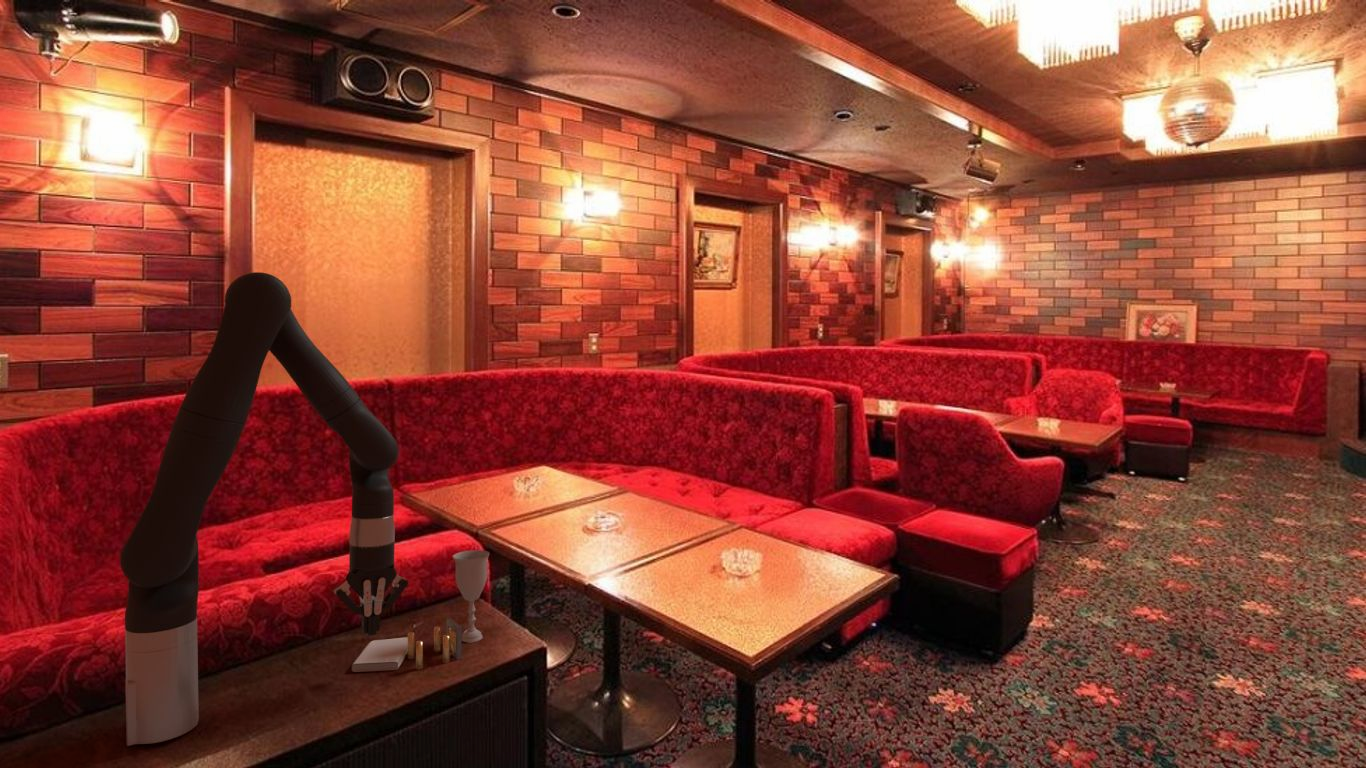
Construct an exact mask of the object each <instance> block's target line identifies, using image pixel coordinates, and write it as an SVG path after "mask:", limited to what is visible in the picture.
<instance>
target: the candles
mask: <svg viewBox="0 0 1366 768" xmlns="http://www.w3.org/2000/svg"><path fill="white" fill-rule="evenodd" d="M445 620H446V622H445V623H446V624H445V625H446V634H444V635H442V663H443V664H448V663H450V659H451V658H450V652H451V653H452V657H453V658H455V659H456V660H457V661H459V660H462V640H461V637H462V634H463V631H462V629H463V628H462V626H461V625H460V624H458V622H456V621H455V620H454V619H453V618H452V617H446V619H445ZM407 637H408V651H407V659H408V660H413V659H415V670H418V671H420V670H423V668H424V646H423V645H424V644H423V643H424V642H423V640H417V641H416V642H415V632H413V631H410V632H408V633H407ZM433 650H434V652H435V653H436V652H437V653H438V652H440V651H441V626H434V627H433Z"/></svg>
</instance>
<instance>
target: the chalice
mask: <svg viewBox="0 0 1366 768" xmlns="http://www.w3.org/2000/svg"><path fill="white" fill-rule="evenodd" d="M489 556H490V551H487V550H481V549H480V550H477V549H475V550H474V549H473V550H465V551H460V552H457V553H455V554H453V555H452V558H453V560H454V562H455V582H456V585H457V587H458V590H459V592H460V594H461V596H462V598H463V599H464V600H465V601H468V604H469V605H468V609H467V612H468V617H467V619H466V620H467V621H468V624H469V625H468V628H467V629H465V630H464V631H463V632H462V634H461V642H464V643H465V644H466V643H467V644H475V643H476V642H479V641H480V640H482V639H483V635H482V632H481V631H480V630H479V629H478V628H476V627H475V622H476V620H477V618H476V617H475V612H476V607H475V601H476V600H478V599H479V598H480V596H481V594H482V592H483V590H484V588H485V585H486V582H487V580H488V559H489Z"/></svg>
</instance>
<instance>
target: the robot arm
mask: <svg viewBox="0 0 1366 768" xmlns="http://www.w3.org/2000/svg"><path fill="white" fill-rule="evenodd" d="M269 352H270V353H271V354H272V355H273V357H274V358H275V359H276V360H277V361H278V362H279V363H280V365H281V366H282V367H283V369H284V370H285V371H286V373H288V375H289V376H290V378H291V379H292V381H293V382H294V383H295V385H296V387H297V388H298V389H299V391H300V392H301V393H302V394H303V396H304V398H305V399H306V400H307V401H308V403H309V404H310V405H311V407H312V408H313V409H314V410H315V412H316V413H317V414H318V415H319V417H320V418H321V419H322V420H323V422H324V423H325V424H326V425H327V426H328V427H329V428H330V429H331V430H332V431H333V432H334V433H337V435H338V436H339V437H340V438H341V439H342V440H343V442H344V443H345V445H346V446H347V447H348V448H349V451H348V462H349V471H350V478H351V479H350V480H351V485H352V495H351V496H352V497H351V521H350V526H349V534H348V535H349V536H348V540H349V541H348V542H349V560H348V562H349V563H348V564H349V566H348V567H349V569H348V573H347V575H346V577H345V582H343V583H342V584H341V585H340V586H335V587H334V588H333V593H334V594H335V595H336V597H338V599H339V600H340V601H341V602H342V603H343V604H344V605H345V606H346V607H347V608H348V609H349V610H350V611H351V612H352V613H353V614H354V615H356V616H361V631H362V632H363V634H365V635H366V636H367V637H372V636H377V632H379V631H380V630H381V614H382V612H384V611H386V610H387V611H388V610H390V609H391V608H392V607H393V605H394V604H395V603H396V602H397V600H398V599H399V597H400V596H401V595H402V593H403V592H404V591H405V589H406V588H407V587H408V585H409V581H408V580H407V579H406V578H405V577H403V576H400V575H398V572H397V570H396V568H395V546H396V545H395V544H396V542H395V540H396V539H395V535H396V525H395V519H394V518H395V517H394V513H395V503H394V501H395V500H394V499H395V494H394V492H395V491H394V487H393V485H392V484H391V481H390V470H389V469H390V468H391V467H393V466H394V464H395V463H396V462H397V460H398V457H399V445H398V443H397V441H396V439H395V437H394V436H393V435H392V433H390V430H388V429H387V428H386V427H385V426H384V424H383V423H382V422H381V421H380V420H379V419H378V418H377V417H376V416H375V415H374V414H373V413H372V412H371V411H370V410H369V409H368V408H367V406H366V404H365V403H364V402H363V400H362V398H361V397H360V396H359V394H358V393H357V392H356V390H355V389H354V388H353V386H352V385H351V384H350V383H349V382H348V380H347V379H346V378H345V377H344V375H343V374H342V373H341V372H340V370H338V368H337V367H335V365H334V364H333V363H332V362H331V361H330V360H329V359H328V357H326V356H325V354H324V353H323V352H322V351H321V350H320V348H318V347H317V346H316V345H315V343H314V342H313V341H312V340H311V339H310V337H309V336H308V335H307V333H306V332H305V331H304V329H303V327H302V326H301V324H300V323H299V321H298V319H297V318H296V316H295V313H294V312H293V310H292V296H291V292H290V290H289V289H288V287H287V285H286V284H285V283H284V282H283V281H282V280H281V279H280V278H278V277H277V276H275V275H273V274H271V273H270V274H269V273H267V272H262V271H261V272H256V271H255V272H249V273H245V274H242V275H240V276H238V277H237V278H236V279H234V280H233V281H232V282H231V283H230V284H229V286H228V288H227V289H226V291H225V295H224V307H223V312H222V316H221V319H220V323H219V327H218V329H217V333H216V337H215V340H214V342H213V345H212V347H211V349H210V351H209V354H208V355H207V357H206V359H205V360H204V362H203V364H202V365H201V367H200V369H199V370H198V372H196V373H197V374H196V375H195V377H194V378H193V380H192V382H191V384H190V386H189V388H187V391H186V393H185V396H184V397H183V400H182V402H181V404H180V407H179V408H178V412H177V415H176V417H175V419H174V421H173V424H172V426H171V429H170V432H169V435H168V438H167V440H166V443H165V444H166V445H165V447H164V450H163V453H162V457H161V459H160V464H159V466H158V467H159V468H158V471H157V475H156V479H155V482H154V486H153V489H152V491H151V493H150V496H149V498H148V501H147V503H146V505H145V506H144V508H143V510H142V512H141V514H140V516H139V518H138V520H137V522H136V523H135V526H134V527H133V529H132V531H131V533H130V535H129V536H128V538H127V539H126V541H125V542H124V544H123V546H122V548H121V551H120V555H119V563H120V568H121V571H122V574H123V575H124V577H125V578H126V579H127V580H128V595H127V601H126V607H125V612H124V635H125V636H124V637H125V638H124V639H125V641H124V642H125V717H126V718H125V722H126V726H125V727H126V729H125V731H126V734H125V735H126V746H127V747H128V746H129V747H130V746H133V745H134V746H135V745H146V744H148V745H149V744H157V743H161V742H165V741H169V740H172V739H174V738H177V737H180V736H182V735H184V734H186V733H188V732H190V731H191V730H194V728H195V727H196V726H197V725H198V723H199V713H200V712H199V709H200V707H199V675H198V674H199V667H198V666H199V663H198V661H199V659H198V658H199V657H198V653H199V652H198V651H199V650H198V599H199V590H200V589H199V579H200V578H199V575H200V574H199V571H200V570H199V565H200V564H199V558H200V554H199V542H198V540H199V539H198V537H197V533H198V531H199V526H200V523H201V521H202V520H201V519H202V518H203V517H202V516H203V513H204V510H205V508H206V506H207V503H208V501H209V498H210V497H211V495H212V493H213V491H214V490H215V488H216V486H217V484H218V483H219V481H220V479H221V477H222V475H223V474H224V472H225V470H226V469H227V467H228V465H229V463H230V461H231V458H232V457H233V455H234V452H235V450H236V448H237V447H238V444H239V441H240V439H241V436H242V434H243V430H244V428H245V426H246V423H247V421H248V417H249V414H250V411H251V409H252V404H253V401H254V398H255V394H256V392H257V387H258V384H259V380H260V379H259V378H260V375H261V372H262V368H263V365H264V363H265V360H266V357H267V356H268V353H269ZM391 585H392V587H391V588H390V586H391ZM350 587H351V589H352V590H353V592H355V593H356V595H358V597H359V601H360V605H358V604H357V603H355V602H354V600H353V599H351V597H350V596H349V595H350V594H351V591H350ZM389 588H390V590H389V591H388V589H389ZM386 591H388V592H387V593H386ZM385 593H386V595H385Z"/></svg>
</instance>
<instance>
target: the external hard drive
mask: <svg viewBox="0 0 1366 768" xmlns="http://www.w3.org/2000/svg"><path fill="white" fill-rule="evenodd" d="M407 654H408V636H406V637H405V636H404V637H398V638H397V637H396V638H395V637H394V638H389V639H387V638H386V639H375V640H372V641H370V642H368V643H367V645H366V646H365V647H364V649H363V650H362V652H361V653H360V654H359V655H358V657H357V658H356V659H355V660H354V662H353V663H352V664H351V671H352V672H354V673H357V672H358V673H359V672H360V673H362V672H378V671H381V672H382V671H383V672H384V671H396V670H398V669H399V668H400V666H401V665H402V663H403V662H404V659H405V658H406V656H407Z"/></svg>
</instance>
